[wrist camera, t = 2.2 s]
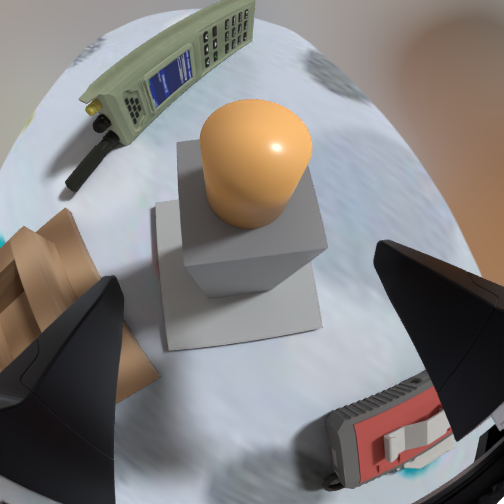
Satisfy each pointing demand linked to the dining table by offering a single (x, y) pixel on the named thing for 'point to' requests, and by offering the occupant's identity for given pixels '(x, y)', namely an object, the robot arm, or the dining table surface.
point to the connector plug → (248, 199)
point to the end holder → (55, 295)
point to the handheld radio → (161, 75)
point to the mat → (226, 299)
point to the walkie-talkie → (387, 433)
